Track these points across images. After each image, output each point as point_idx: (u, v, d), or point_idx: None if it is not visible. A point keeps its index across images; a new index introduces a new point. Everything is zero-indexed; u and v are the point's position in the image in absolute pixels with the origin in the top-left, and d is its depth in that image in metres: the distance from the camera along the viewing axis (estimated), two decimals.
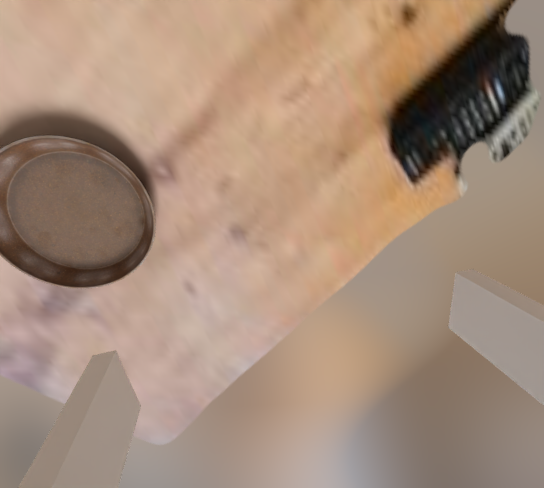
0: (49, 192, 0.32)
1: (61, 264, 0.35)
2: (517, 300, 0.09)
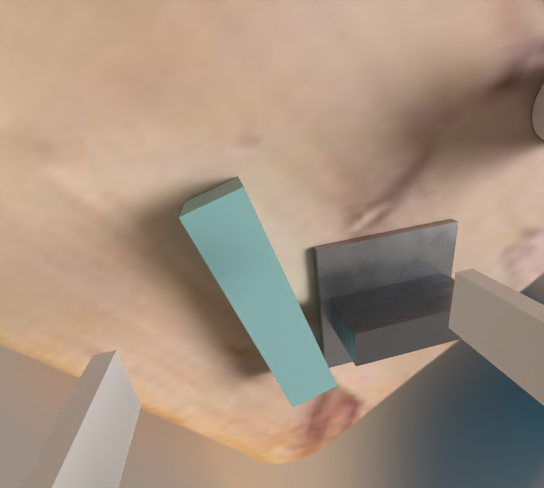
0: None
1: None
2: (517, 300, 0.09)
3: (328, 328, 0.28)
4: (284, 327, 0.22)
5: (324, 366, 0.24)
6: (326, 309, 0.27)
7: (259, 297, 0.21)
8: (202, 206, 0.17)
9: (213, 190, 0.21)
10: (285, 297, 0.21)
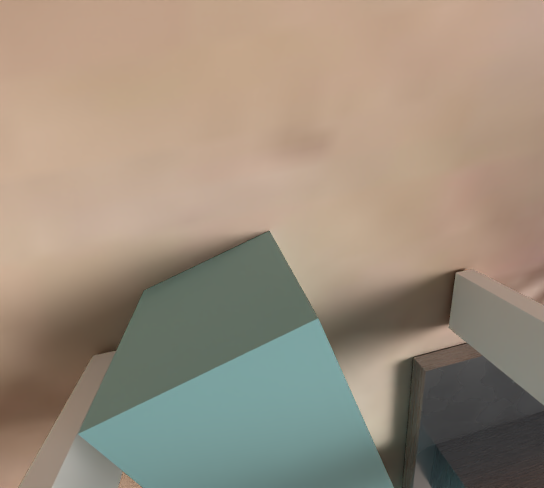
0: None
1: None
2: (517, 300, 0.09)
3: (422, 487, 0.15)
4: None
5: None
6: (425, 461, 0.14)
7: None
8: (167, 389, 0.05)
9: (210, 273, 0.08)
10: None
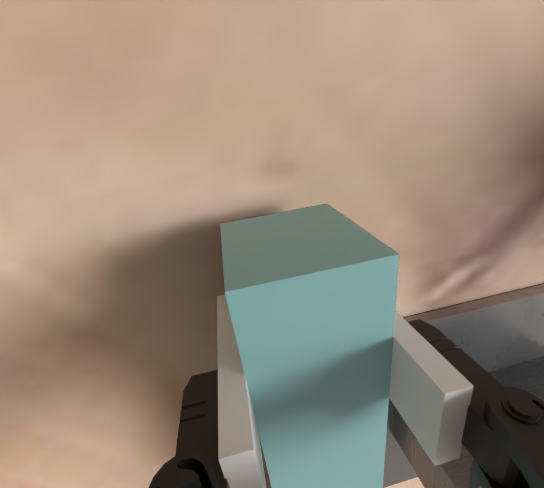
0: None
1: None
2: None
3: (387, 438, 0.19)
4: None
5: None
6: None
7: (323, 457, 0.10)
8: (291, 277, 0.07)
9: (285, 223, 0.10)
10: (368, 460, 0.11)
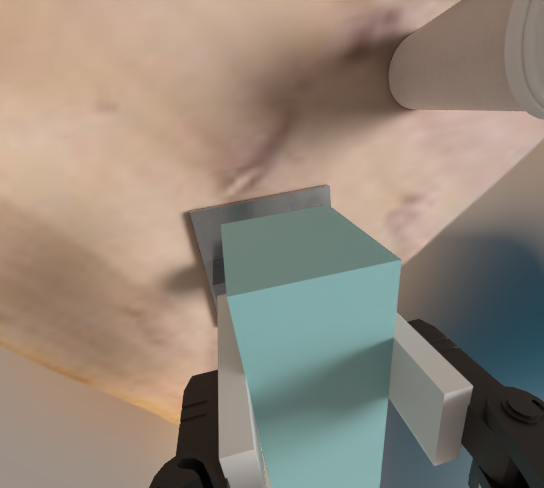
0: None
1: None
2: None
3: None
4: None
5: None
6: (210, 271, 0.29)
7: (322, 458, 0.10)
8: (293, 282, 0.07)
9: (286, 224, 0.10)
10: (366, 460, 0.11)
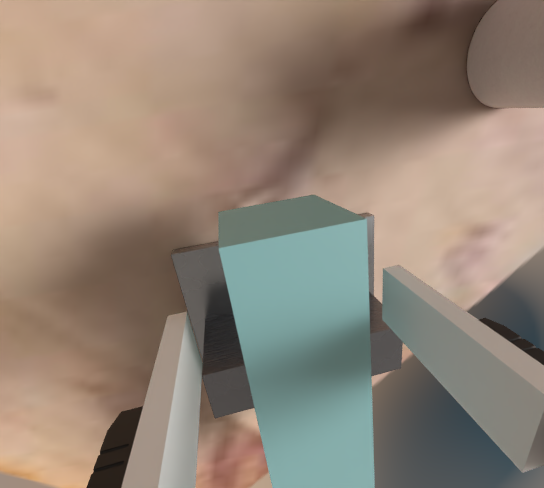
0: None
1: None
2: (424, 292, 0.10)
3: None
4: (334, 478, 0.12)
5: None
6: (202, 333, 0.20)
7: (313, 423, 0.11)
8: (274, 237, 0.08)
9: (275, 208, 0.12)
10: (357, 430, 0.11)
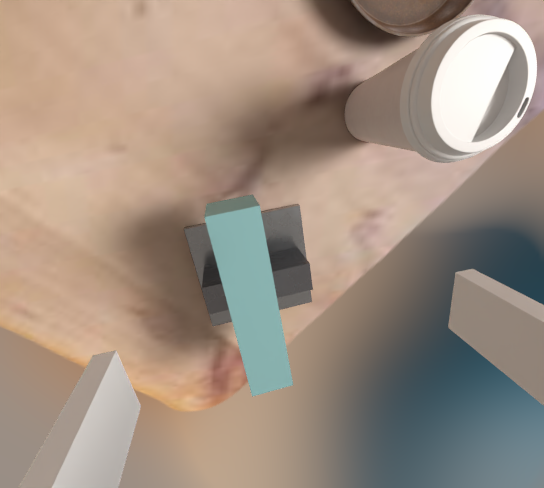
0: None
1: None
2: (517, 300, 0.09)
3: None
4: (262, 324, 0.27)
5: (286, 365, 0.29)
6: (202, 276, 0.35)
7: (248, 294, 0.25)
8: (224, 213, 0.22)
9: (232, 201, 0.26)
10: (269, 299, 0.26)
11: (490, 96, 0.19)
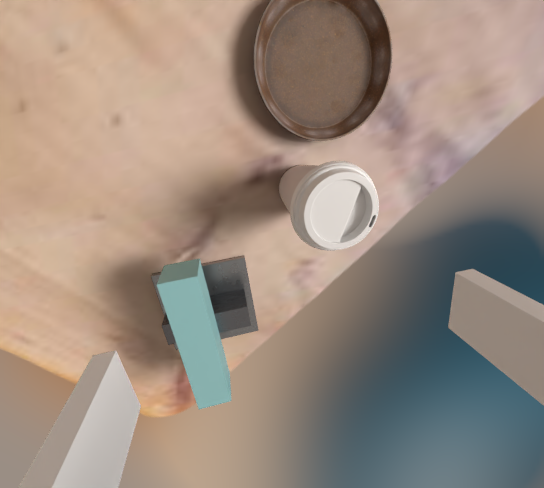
0: (298, 89, 0.36)
1: (361, 99, 0.38)
2: (517, 300, 0.09)
3: None
4: (203, 356, 0.35)
5: (225, 386, 0.38)
6: None
7: (192, 335, 0.34)
8: (171, 281, 0.31)
9: (182, 266, 0.35)
10: (208, 339, 0.35)
11: (348, 214, 0.28)
